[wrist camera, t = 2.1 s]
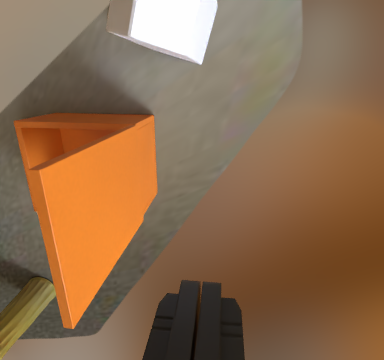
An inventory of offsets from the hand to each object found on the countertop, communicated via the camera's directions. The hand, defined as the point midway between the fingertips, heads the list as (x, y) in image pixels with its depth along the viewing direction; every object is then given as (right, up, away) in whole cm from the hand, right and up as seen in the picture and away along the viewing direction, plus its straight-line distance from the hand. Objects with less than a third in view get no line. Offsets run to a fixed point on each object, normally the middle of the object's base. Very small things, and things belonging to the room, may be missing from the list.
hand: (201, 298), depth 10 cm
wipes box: (-14, +9, +32) cm, 36 cm away
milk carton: (-1, +25, +24) cm, 35 cm away
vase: (-31, -18, +45) cm, 57 cm away
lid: (-9, +2, +15) cm, 17 cm away
